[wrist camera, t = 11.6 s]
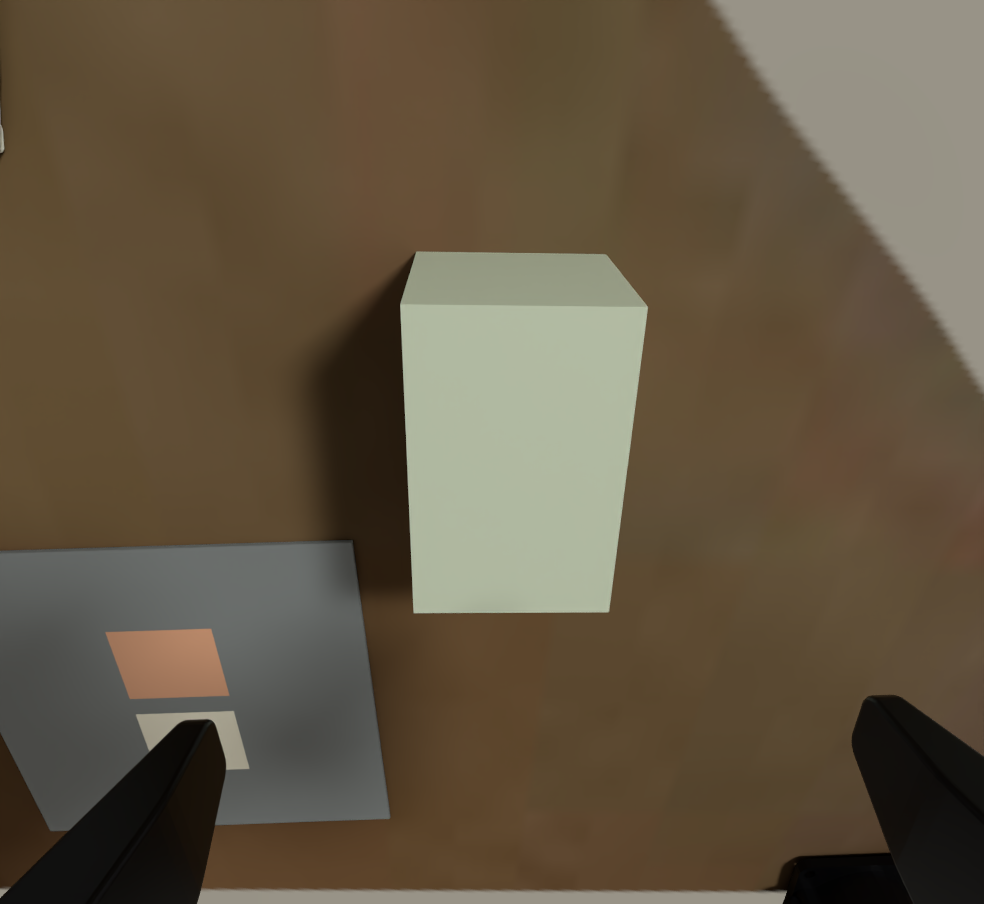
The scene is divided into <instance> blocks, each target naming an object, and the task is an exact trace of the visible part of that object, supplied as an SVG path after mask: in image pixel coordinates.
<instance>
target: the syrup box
mask: <svg viewBox="0 0 984 904" xmlns="http://www.w3.org/2000/svg"><path fill="white" fill-rule="evenodd" d="M3 150H4V137H3V129H2V126H1V110H0V153H3Z"/></svg>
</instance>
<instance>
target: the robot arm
mask: <svg viewBox="0 0 984 904" xmlns="http://www.w3.org/2000/svg"><path fill="white" fill-rule="evenodd" d="M852 748H853V752H854V756H855V758H856V761H857V764H858V766H859V769H860V772H861V775H862V777H863V780H864V783H865V785H866V788H867V791H868V794H869V796H870V799H871V802H872V804H873V807H874V810H875V813H876V815H877V818H878V821H879V823H880V826H881V829H882V832H883V834H884V837H885V840H886V842H887V845H888V848H889V850H890V853H891V855H892V856H869V857H843V858H817V859H804V860H801V861H799V862H798V863H797V864H796V865H795V868H794V871H793V874H792V877H791V880H790V884H789V887H788V890H787V893H786V896H785V899H784V902H783V904H984V756H982V755H981V754H980V753H978V752H977V751H975V750H974V749H973V748H971V747H970V746H968V745H967V744H966V743H964V742H963V741H962V740H960V739H959V738H957V737H956V736H955V735H953V734H952V733H950V732H949V731H948V730H946V729H945V728H943V727H942V726H941V725H939V724H938V723H937V722H935V721H934V720H932V719H931V718H930V717H928V716H927V715H925V714H924V713H923V712H921V711H920V710H918V709H917V708H916V707H914V706H913V705H912V704H910V703H909V702H907V701H906V700H904V699H903V698H901V697H899V696H896V695H872V696H868V697H867V698H866V699H865V700H864V701H863V703H862V706H861V709H860V712H859V715H858V718H857V721H856V724H855V727H854V730H853V734H852ZM225 775H226V759H225V755H224V751H223V748H222V744H221V741H220V738H219V734H218V731H217V728H216V725H215V723H214V722H213V721H212V720H210V719H195V720H184V721H182V722H180V723H178V724H177V725H176V726H175V727H174V728H173V729H172V730H171V731H170V732H169V733H168V734H167V735H166V736H165V737H164V738H163V739H162V740H161V741H160V742H159V743H158V744H157V745H156V746H155V747H153V748H152V749H151V750H150V751H149V752H148V753H147V754H146V755H145V756H144V757H143V758H142V759H141V760H140V761H139V762H138V763H137V764H136V765H135V766H134V767H133V768H132V769H131V770H130V771H129V772H128V773H127V774H126V775H125V776H124V777H123V778H122V779H121V780H120V781H119V782H118V783H117V784H116V785H115V786H114V787H113V788H112V789H111V790H110V791H109V792H108V793H107V794H106V795H105V796H104V797H103V798H102V799H101V800H100V801H99V802H97V803H96V804H95V805H94V806H93V807H92V808H91V809H90V810H89V811H88V812H87V813H86V814H85V815H84V816H83V817H82V818H81V819H80V820H79V821H78V822H77V823H76V824H75V825H74V826H73V827H72V828H71V829H70V830H69V831H68V832H67V833H66V834H65V835H64V836H63V837H62V838H61V839H60V840H59V841H58V842H57V843H56V844H55V845H54V846H53V847H52V848H51V849H50V850H49V851H48V852H47V853H46V854H45V855H44V856H43V857H41V858H40V859H39V860H38V861H37V862H36V863H35V864H34V865H33V866H32V867H31V868H30V869H29V870H28V871H27V872H26V873H25V874H24V875H23V876H22V877H21V878H20V879H19V880H18V881H17V882H16V883H15V884H14V885H13V886H12V887H11V888H10V889H9V890H8V891H7V892H6V893H5V894H4V895H3V896H2V897H1V898H0V904H197V902H198V898H199V895H200V891H201V887H202V883H203V878H204V874H205V870H206V865H207V860H208V855H209V851H210V846H211V841H212V837H213V832H214V827H215V823H216V818H217V813H218V808H219V804H220V799H221V794H222V790H223V785H224V780H225Z"/></svg>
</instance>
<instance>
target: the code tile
mask: <svg viewBox="0 0 984 904" xmlns="http://www.w3.org/2000/svg"><path fill="white" fill-rule="evenodd" d="M195 719H210V720H212V721H213V722H214V723H215V725H216V728H217V731H218V734H219V738H220V741H221V744H222V748H223V751H224V755H225V759H226V775H225V780H224V785H223V790H222V794H221V799H220V804H219V808H218V813H217V818H216V823H215V825H232V824H259V823H286V822H313V821H340V820H367V819H390V809H389V802H388V795H387V787H386V780H385V773H384V765H383V758H382V751H381V744H380V736H379V729H378V722H377V715H376V707H375V700H374V693H373V685H372V678H371V671H370V664H369V656H368V649H367V642H366V634H365V627H364V620H363V613H362V605H361V598H360V591H359V583H358V576H357V569H356V562H355V554H354V547H353V540H335V541H303V542H270V543H238V544H206V545H173V546H141V547H108V548H76V549H44V550H11V551H0V733H1V735H2V737H3V739H4V741H5V743H6V745H7V747H8V749H9V751H10V753H11V755H12V757H13V759H14V760H15V762H16V764H17V766H18V768H19V770H20V772H21V774H22V776H23V778H24V780H25V782H26V784H27V786H28V788H29V790H30V792H31V794H32V796H33V798H34V800H35V802H36V804H37V806H38V808H39V810H40V812H41V814H42V815H43V817H44V819H45V821H46V823H47V825H48V827H49V829H50V831H69V830H70V829H71V828H72V827H73V826H74V825H75V824H76V823H77V822H78V821H79V820H80V819H81V818H82V817H83V816H84V815H85V814H86V813H87V812H88V811H89V810H90V809H91V808H92V807H93V806H94V805H95V804H96V803H97V802H99V801H100V800H101V799H102V798H103V797H104V796H105V795H106V794H107V793H108V792H109V791H110V790H111V789H112V788H113V787H114V786H115V785H116V784H117V783H118V782H119V781H120V780H121V779H122V778H123V777H124V776H125V775H126V774H127V773H128V772H129V771H130V770H131V769H132V768H133V767H134V766H135V765H136V764H137V763H138V762H139V761H140V760H141V759H142V758H143V757H144V756H145V755H146V754H147V753H148V752H149V751H150V750H151V749H152V748H153V747H155V746H156V745H157V744H158V743H159V742H160V741H161V740H162V739H163V738H164V737H165V736H166V735H167V734H168V733H169V732H170V731H171V730H172V729H173V728H174V727H175V726H176V725H177V724H178V723H180V722H182V721H184V720H195Z"/></svg>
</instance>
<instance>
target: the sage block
mask: <svg viewBox="0 0 984 904" xmlns="http://www.w3.org/2000/svg"><path fill="white" fill-rule="evenodd" d="M647 310H648V307H647V305H646V304H645V303H644V302H643V300H642V299H641V298H640V296H639V295H638V294H637V293H636V291H635V290H634V289H633V288H632V286H631V285H630V284H629V283H628V281H627V280H626V279H625V278H624V276H623V275H622V274H621V273H620V271H619V270H618V269H617V268H616V266H615V265H614V264H613V263H612V261H611V260H610V259H609V257H608V256H607V255H606V254H547V253H475V252H416V255H415V258H414V261H413V264H412V268H411V271H410V274H409V277H408V281H407V284H406V287H405V290H404V294H403V297H402V300H401V303H400V311H401V334H402V357H403V380H404V403H405V426H406V449H407V472H408V495H409V518H410V540H411V563H412V586H413V609H414V613H538V612H609V607H610V599H611V591H612V583H613V576H614V568H615V560H616V552H617V544H618V537H619V529H620V521H621V513H622V505H623V497H624V490H625V482H626V474H627V466H628V458H629V451H630V443H631V435H632V427H633V419H634V412H635V404H636V396H637V388H638V380H639V372H640V365H641V357H642V349H643V341H644V333H645V326H646V318H647Z"/></svg>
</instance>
